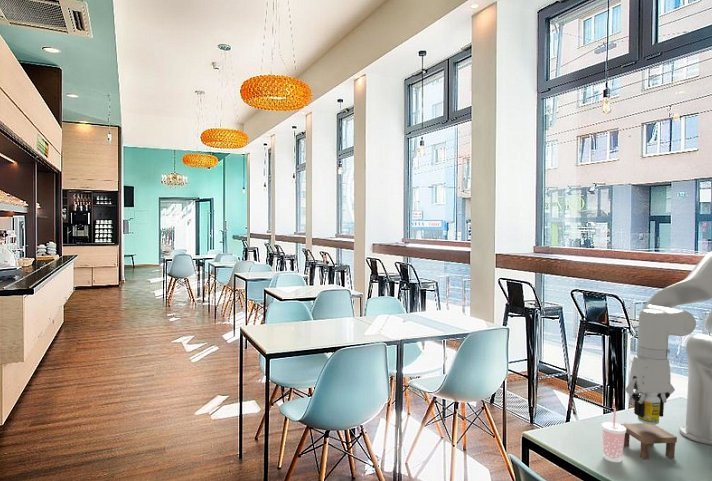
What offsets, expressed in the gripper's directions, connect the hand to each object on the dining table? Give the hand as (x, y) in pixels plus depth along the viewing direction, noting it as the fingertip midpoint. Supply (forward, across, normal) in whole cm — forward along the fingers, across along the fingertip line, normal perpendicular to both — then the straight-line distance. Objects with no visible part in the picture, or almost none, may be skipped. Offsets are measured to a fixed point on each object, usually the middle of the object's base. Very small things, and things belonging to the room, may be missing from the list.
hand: (648, 414), depth 146 cm
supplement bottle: (+2, 0, 0) cm, 2 cm away
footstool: (+11, 0, 0) cm, 11 cm away
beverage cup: (+11, +13, +3) cm, 17 cm away
